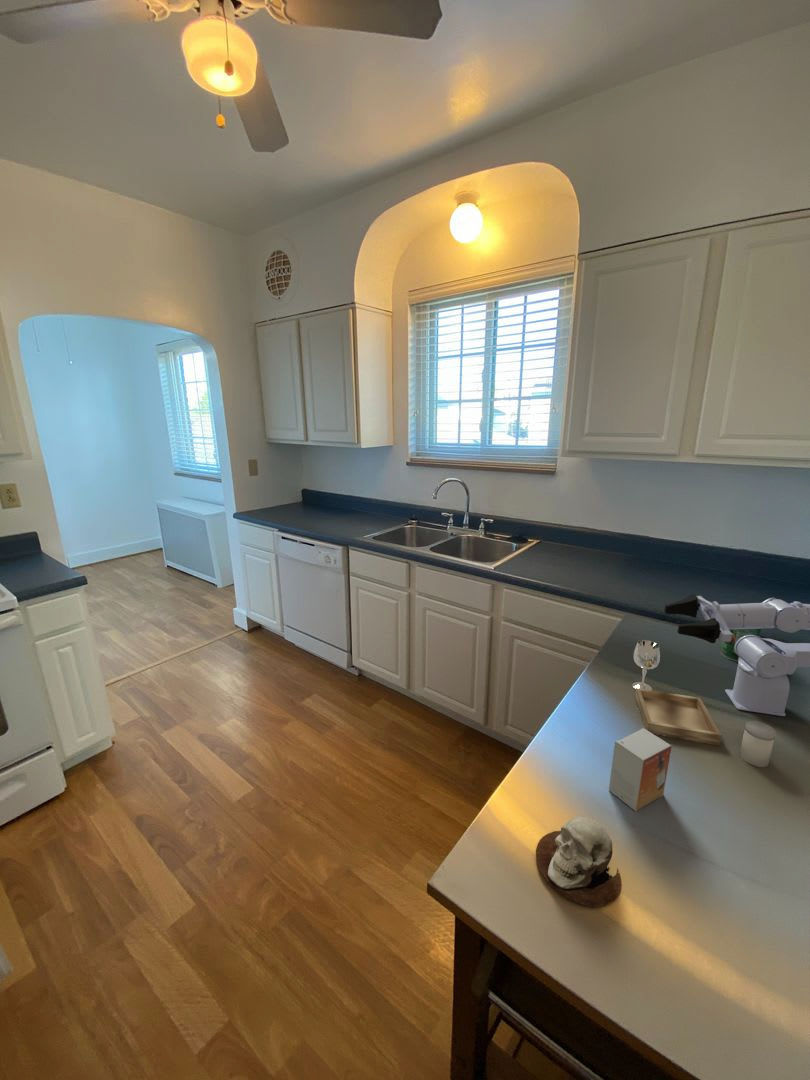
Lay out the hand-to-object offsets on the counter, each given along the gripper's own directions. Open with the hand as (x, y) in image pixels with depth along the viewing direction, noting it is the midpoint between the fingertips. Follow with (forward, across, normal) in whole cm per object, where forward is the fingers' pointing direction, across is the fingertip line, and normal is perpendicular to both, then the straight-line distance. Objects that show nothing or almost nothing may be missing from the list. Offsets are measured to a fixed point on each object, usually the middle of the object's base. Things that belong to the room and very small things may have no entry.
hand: (671, 618), depth 103 cm
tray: (+3, +14, +18) cm, 22 cm away
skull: (+32, +51, +6) cm, 60 cm away
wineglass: (+5, +1, +20) cm, 21 cm away
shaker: (-8, +24, +16) cm, 30 cm away
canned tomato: (-27, -18, +29) cm, 43 cm away
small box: (+18, +36, +11) cm, 41 cm away
